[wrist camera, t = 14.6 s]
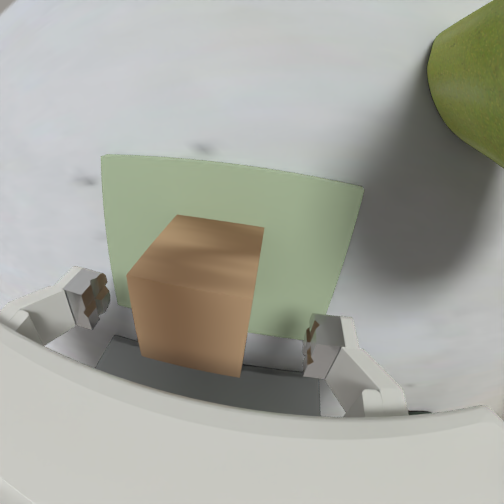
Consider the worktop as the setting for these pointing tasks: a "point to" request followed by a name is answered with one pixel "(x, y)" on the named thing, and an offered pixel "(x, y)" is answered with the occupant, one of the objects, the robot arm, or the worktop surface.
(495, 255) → the worktop surface
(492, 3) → the plant pot
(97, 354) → the worktop surface
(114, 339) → the grey bin
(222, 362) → the walnut block
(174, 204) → the olive mat
